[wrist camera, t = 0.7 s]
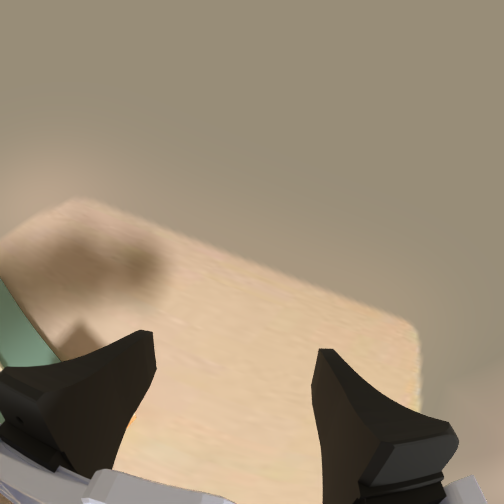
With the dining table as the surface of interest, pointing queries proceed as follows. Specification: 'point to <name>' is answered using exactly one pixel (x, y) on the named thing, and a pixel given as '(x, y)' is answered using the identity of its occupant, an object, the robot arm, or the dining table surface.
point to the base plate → (19, 338)
